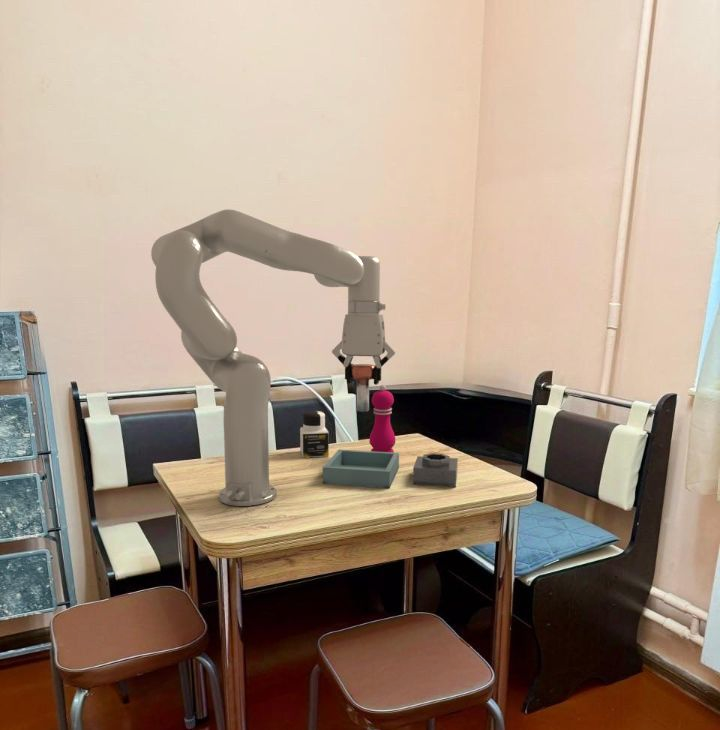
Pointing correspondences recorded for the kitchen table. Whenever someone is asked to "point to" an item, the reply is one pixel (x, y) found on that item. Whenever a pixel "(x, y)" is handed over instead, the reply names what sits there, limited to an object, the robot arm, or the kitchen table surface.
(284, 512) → the kitchen table surface
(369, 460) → the tray
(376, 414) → the pepper mill
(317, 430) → the medicine bottle
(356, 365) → the rounded copper knob
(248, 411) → the robot arm
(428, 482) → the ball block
